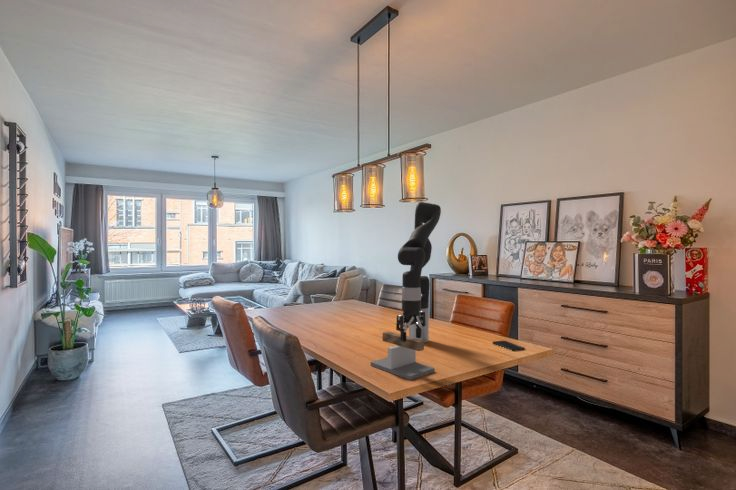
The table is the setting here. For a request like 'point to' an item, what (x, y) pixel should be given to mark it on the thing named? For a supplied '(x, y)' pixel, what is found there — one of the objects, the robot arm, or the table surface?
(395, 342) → the walnut bar
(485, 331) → the table surface
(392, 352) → the stand
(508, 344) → the phone
